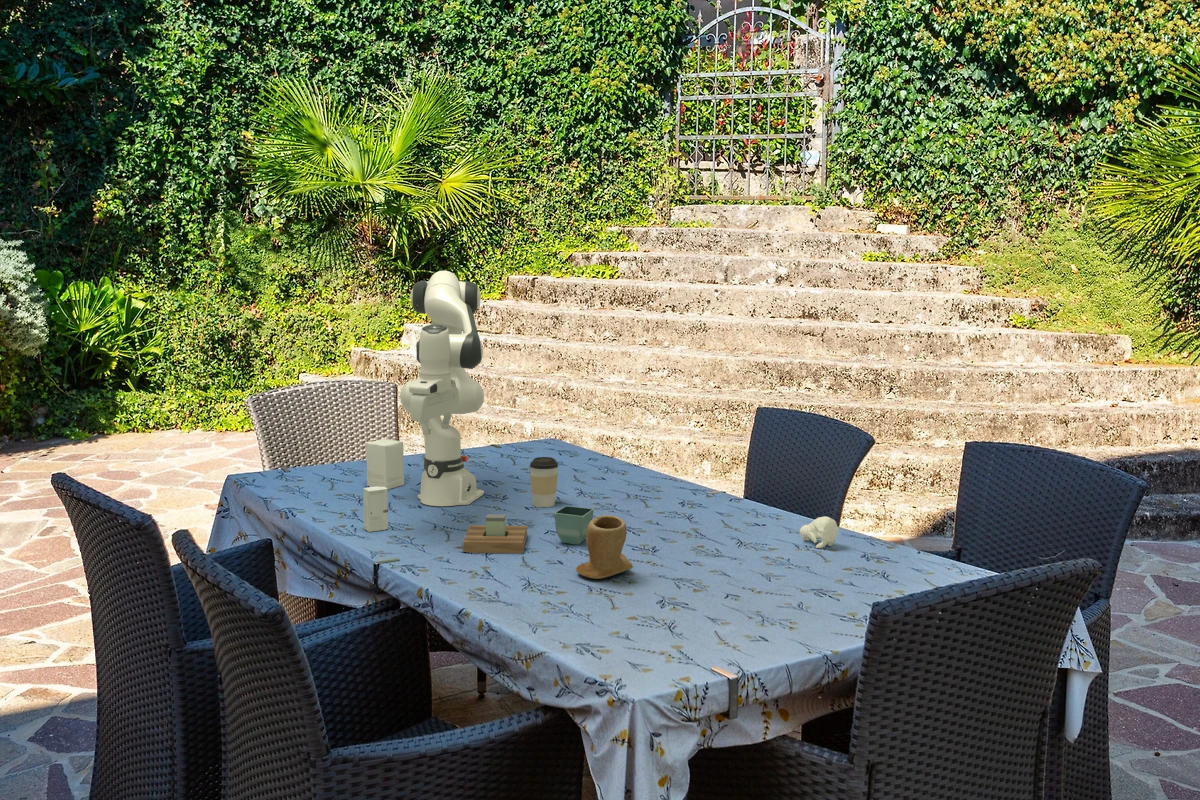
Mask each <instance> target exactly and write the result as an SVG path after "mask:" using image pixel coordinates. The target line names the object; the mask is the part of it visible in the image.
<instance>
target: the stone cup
mask: <svg viewBox="0 0 1200 800" xmlns="http://www.w3.org/2000/svg"><path fill="white" fill-rule="evenodd" d="M626 539H627V524H626V522H625V521H624V519H623V518H620V517H618V516H615V515H611V514H605V515H599V516H596V517H594V518H592V520H591V521H590V522H589V524H588V527H587V533H586V539H585V541H586V549H587V551H588V554H589V555H588V556H589V559H588V560H589V561H586V562H583V563H581V564H579V565H577V566H576V567H575V571H576V572H577V574H579V575H581V576H583V577H585V578H590V579H594V580H599V579H606V578H610V577H612V576H614V575H618V574H621V573H623V572H624V573H625V572H626V571H629V570H631V569H633V568H634V565H633V563H632V562H631V561H630V560H629V559H628V558H627V556H626V555H625V554H623V553H622V552H623V549H624V545H625V542H626Z"/></svg>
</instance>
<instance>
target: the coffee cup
mask: <svg viewBox="0 0 1200 800" xmlns="http://www.w3.org/2000/svg"><path fill="white" fill-rule="evenodd" d="M529 464H530V465H529V467H530V468H529V470H530V471H529V476H530V477H529V478H530V489H531V494H532V506H533V505H534V506H533V507H535V506H536V507H535V508H540V507H547V508H552V507H554V506H555V504H556V492H557V485H558V469H559V464H558V461H557V460H556V459H555V458H553V457H551V456H549V457H548V456H539V457H535V458H533V459H532V461H530V463H529Z"/></svg>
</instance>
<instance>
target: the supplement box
mask: <svg viewBox="0 0 1200 800" xmlns="http://www.w3.org/2000/svg"><path fill="white" fill-rule="evenodd" d="M365 450H366V454H365V455H366V457H365V458H366V480H367V481H366V484H367V487H368V486H369V487H377V486H383V487H385V488H387V489H388V490H391V489H393V488H395V489H396V488H398V487H402V486H405V468H404V467H405V463H404V460H405V459H404V457H405V456H404V441H400V440H395V439H387V438H382V439H377V440H373V441H367V442H365Z"/></svg>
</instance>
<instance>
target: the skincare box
mask: <svg viewBox="0 0 1200 800" xmlns="http://www.w3.org/2000/svg"><path fill="white" fill-rule="evenodd" d="M362 490H363V491H362V493H363V495H362V496H363V497H362V499H363V500H362V502H363V503H362V505H363V508H362V509H363V510H362V511H363V529H364V530H365V531H366V530H367V532H368V533H369V532H378V531H385V530H386V529H387V530H389V503H388V502H389V496H388V495H389V493H388V492H389V489H387V488H385V487H383V486H377V487H368V486H367V487H363V488H362ZM387 530H386V531H387Z"/></svg>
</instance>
